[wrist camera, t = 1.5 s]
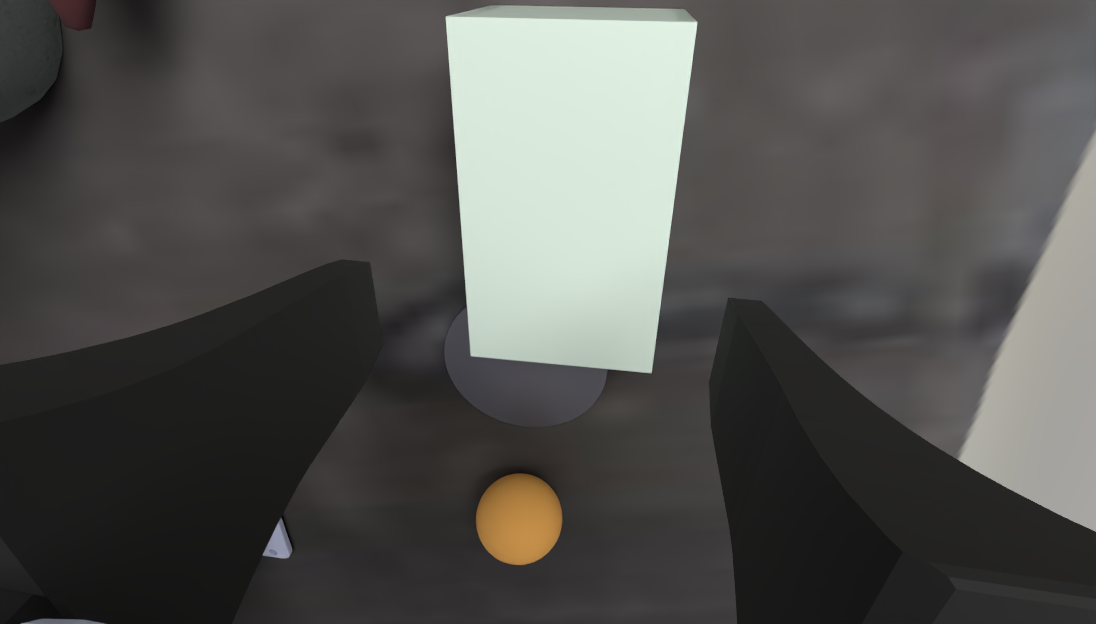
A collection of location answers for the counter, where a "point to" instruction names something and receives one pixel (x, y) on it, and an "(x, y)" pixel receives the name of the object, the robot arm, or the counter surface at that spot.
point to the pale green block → (567, 176)
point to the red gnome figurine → (75, 12)
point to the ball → (519, 519)
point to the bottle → (27, 53)
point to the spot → (519, 384)
